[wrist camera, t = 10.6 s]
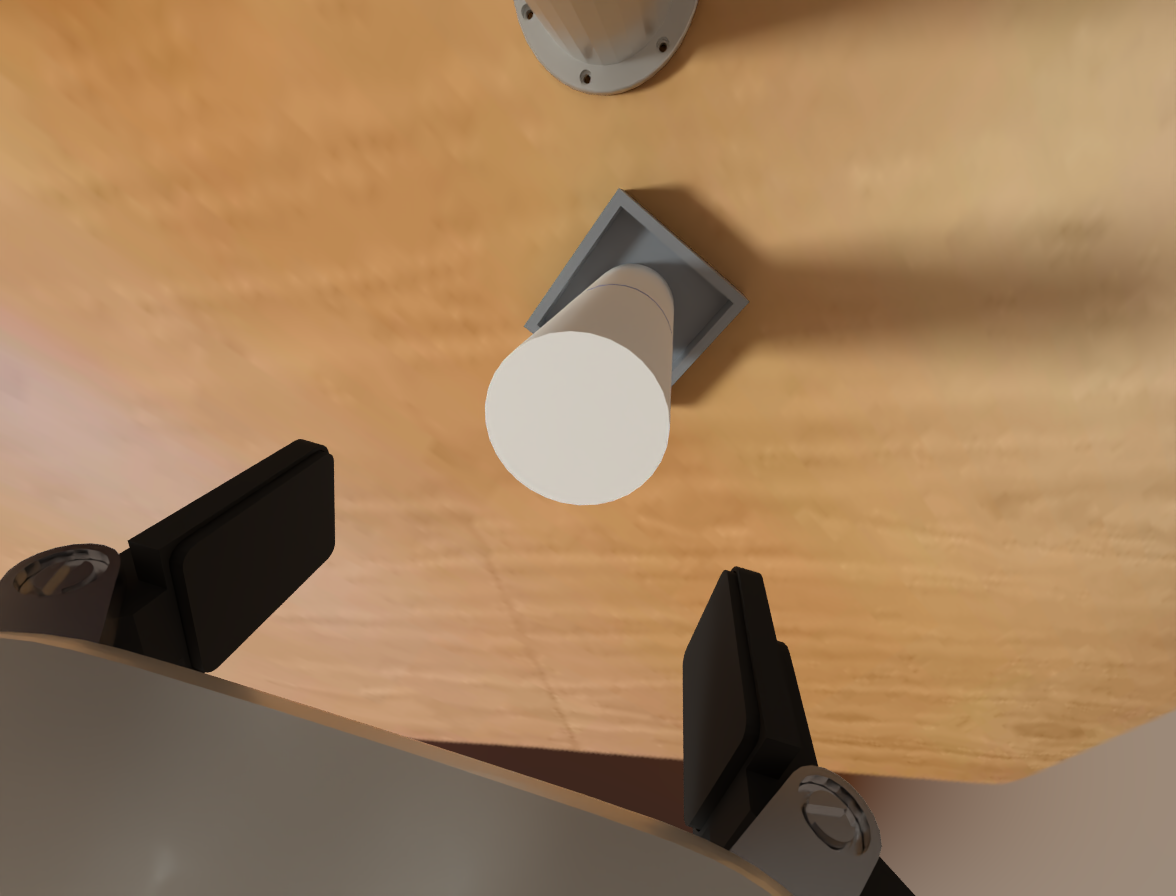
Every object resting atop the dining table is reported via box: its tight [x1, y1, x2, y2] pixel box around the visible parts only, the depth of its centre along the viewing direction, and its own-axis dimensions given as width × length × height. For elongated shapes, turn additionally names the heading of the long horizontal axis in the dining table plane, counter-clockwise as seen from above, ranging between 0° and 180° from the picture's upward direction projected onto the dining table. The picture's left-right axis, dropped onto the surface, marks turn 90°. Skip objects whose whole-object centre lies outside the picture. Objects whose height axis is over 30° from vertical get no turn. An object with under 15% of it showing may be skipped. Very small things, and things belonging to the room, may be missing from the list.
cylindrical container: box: [485, 263, 674, 505], centre depth 30 cm, size 7×7×25 cm
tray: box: [524, 188, 749, 387], centre depth 40 cm, size 13×13×4 cm
